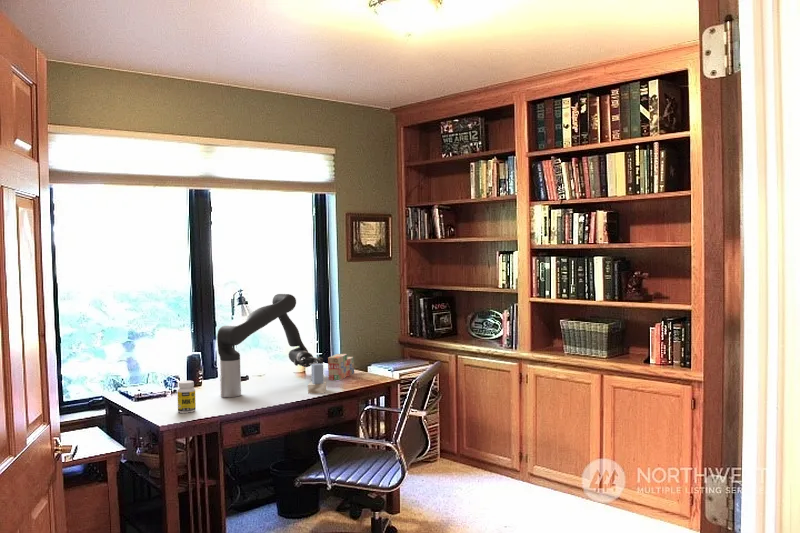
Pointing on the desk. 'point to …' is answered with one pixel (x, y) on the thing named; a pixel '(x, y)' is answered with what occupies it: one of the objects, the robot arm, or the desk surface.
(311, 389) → the cream base block
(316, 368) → the slate block
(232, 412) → the desk surface
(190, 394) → the supplement bottle
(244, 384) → the desk surface
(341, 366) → the stack of blocks
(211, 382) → the desk surface
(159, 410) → the desk surface
